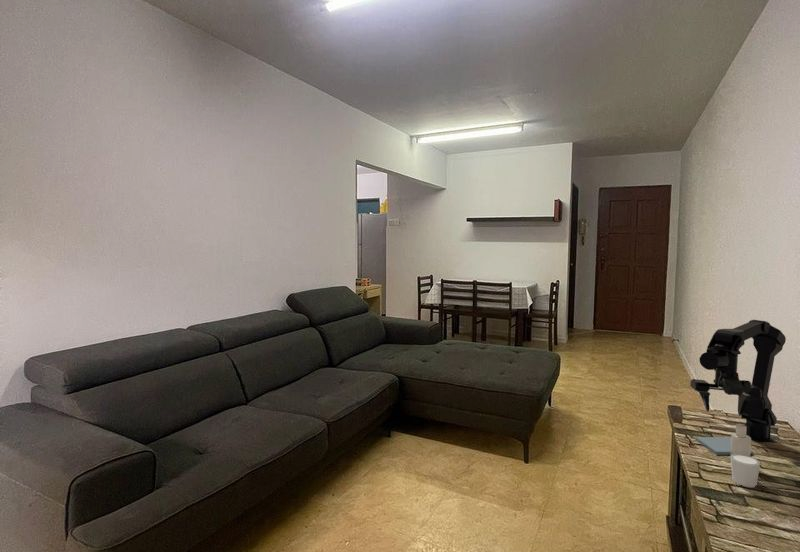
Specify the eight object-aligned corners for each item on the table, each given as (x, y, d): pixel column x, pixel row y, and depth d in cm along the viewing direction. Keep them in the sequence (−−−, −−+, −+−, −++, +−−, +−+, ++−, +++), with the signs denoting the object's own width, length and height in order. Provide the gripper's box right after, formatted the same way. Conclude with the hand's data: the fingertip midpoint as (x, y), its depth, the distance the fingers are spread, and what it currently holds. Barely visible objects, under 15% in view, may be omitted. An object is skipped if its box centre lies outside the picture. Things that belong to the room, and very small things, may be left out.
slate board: (730, 440, 154) (730, 437, 154) (753, 454, 143) (753, 451, 143) (695, 439, 154) (695, 437, 154) (716, 454, 144) (716, 451, 143)
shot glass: (765, 489, 123) (765, 466, 122) (737, 487, 124) (738, 464, 124) (750, 477, 129) (751, 454, 129) (724, 475, 131) (725, 452, 130)
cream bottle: (742, 459, 140) (743, 422, 139) (754, 467, 135) (755, 429, 134) (726, 459, 140) (727, 422, 139) (737, 467, 135) (738, 428, 134)
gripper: (703, 370, 140) (700, 417, 140) (772, 376, 134) (769, 425, 135) (691, 362, 150) (688, 406, 151) (754, 368, 145) (751, 413, 145)
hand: (723, 413), depth 145 cm, fingers open, 9 cm apart
